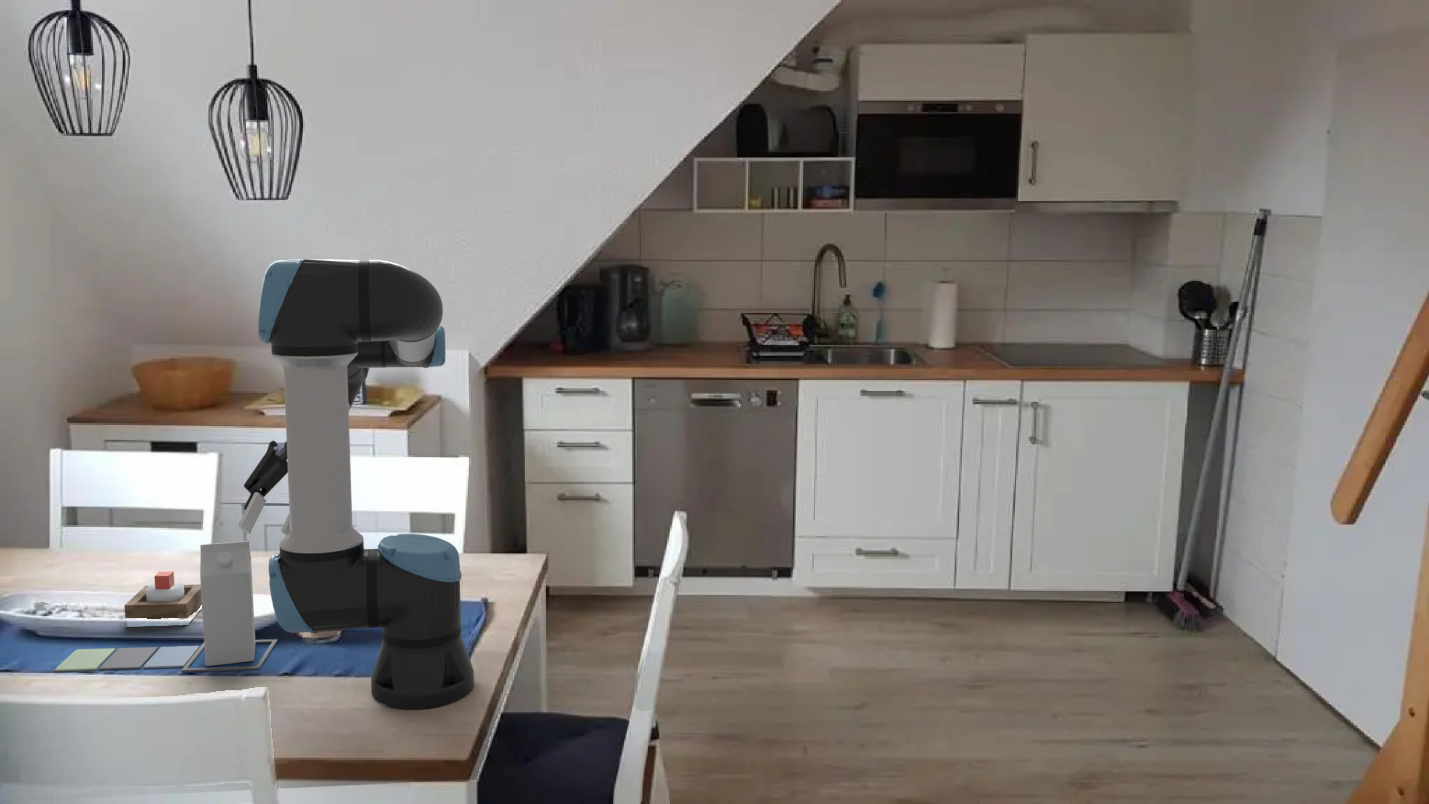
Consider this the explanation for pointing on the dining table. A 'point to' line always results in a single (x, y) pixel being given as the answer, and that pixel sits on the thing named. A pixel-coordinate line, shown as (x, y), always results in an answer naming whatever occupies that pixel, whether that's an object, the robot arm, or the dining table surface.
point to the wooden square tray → (164, 605)
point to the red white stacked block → (165, 588)
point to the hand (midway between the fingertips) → (265, 532)
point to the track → (146, 658)
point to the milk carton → (227, 603)
